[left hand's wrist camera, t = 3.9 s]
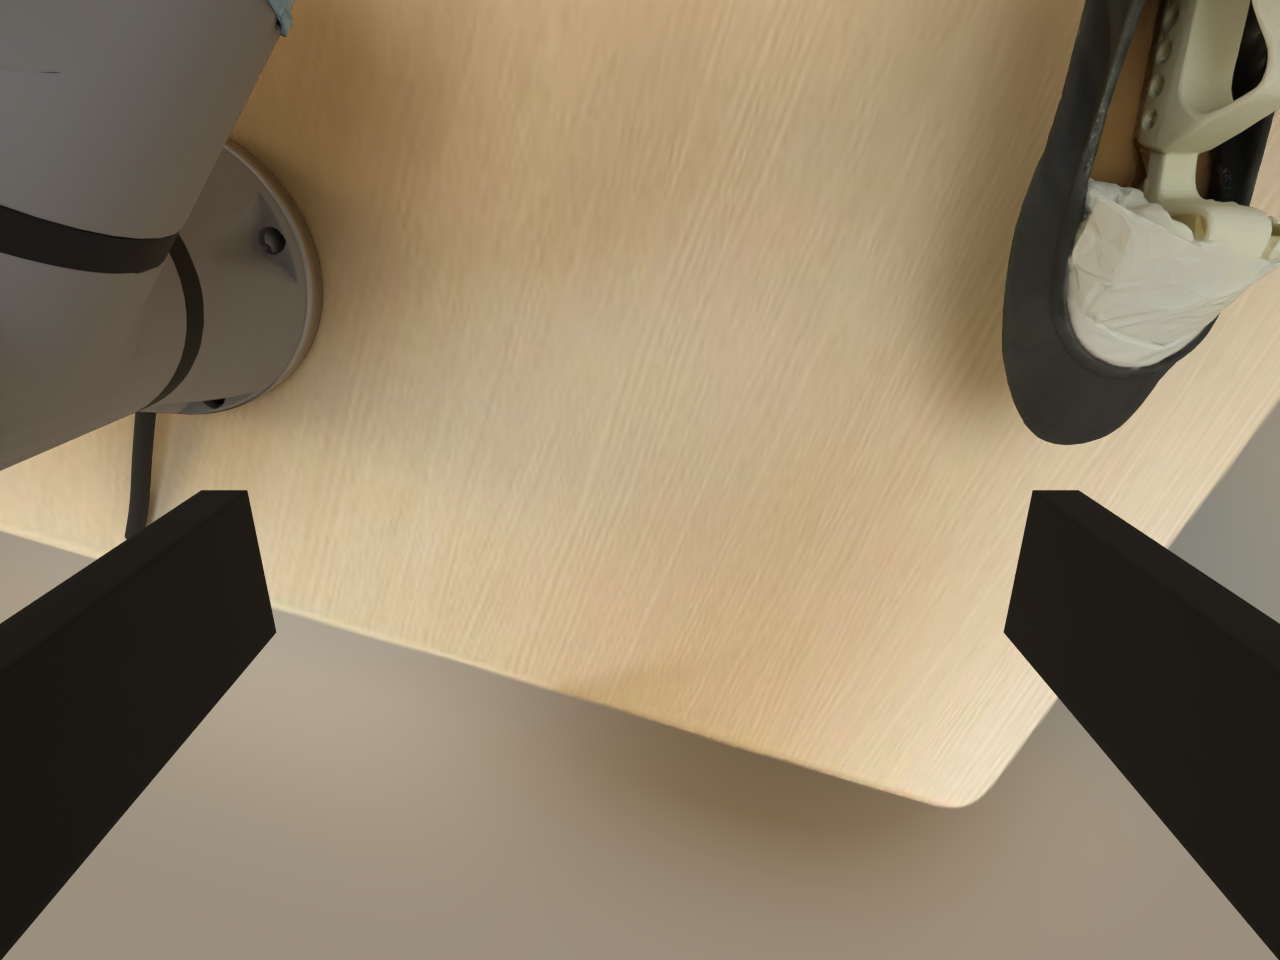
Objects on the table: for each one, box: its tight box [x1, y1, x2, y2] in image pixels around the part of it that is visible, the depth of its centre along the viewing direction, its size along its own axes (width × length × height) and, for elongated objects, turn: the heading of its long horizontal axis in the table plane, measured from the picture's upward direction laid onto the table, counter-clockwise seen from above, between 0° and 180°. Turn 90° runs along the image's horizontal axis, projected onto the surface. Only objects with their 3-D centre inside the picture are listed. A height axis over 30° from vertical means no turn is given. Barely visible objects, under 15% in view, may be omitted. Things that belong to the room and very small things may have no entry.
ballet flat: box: [1002, 0, 1280, 445], centre depth 27 cm, size 8×24×8 cm, turn 1°
